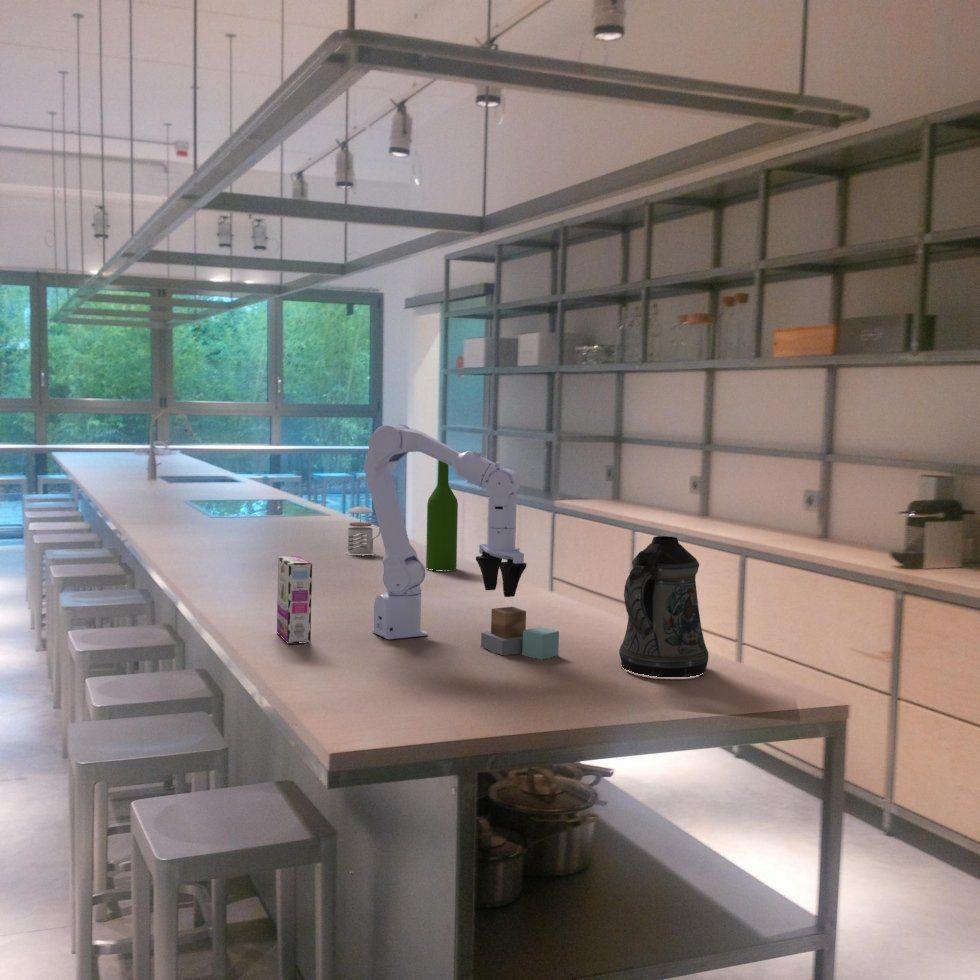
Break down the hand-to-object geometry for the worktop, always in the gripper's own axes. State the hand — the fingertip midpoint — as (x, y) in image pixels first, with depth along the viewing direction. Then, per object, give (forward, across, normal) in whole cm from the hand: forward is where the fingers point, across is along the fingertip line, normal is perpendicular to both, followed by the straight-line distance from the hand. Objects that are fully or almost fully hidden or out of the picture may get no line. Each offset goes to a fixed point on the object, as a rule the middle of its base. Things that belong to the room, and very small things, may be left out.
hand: (499, 593), depth 213 cm
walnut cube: (+7, -6, +1) cm, 9 cm away
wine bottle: (+11, +88, -33) cm, 94 cm away
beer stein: (+10, -32, -16) cm, 38 cm away
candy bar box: (+11, +21, +36) cm, 43 cm away
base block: (+10, -6, +1) cm, 12 cm away
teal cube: (+10, -13, -2) cm, 17 cm away
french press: (+11, +124, -23) cm, 126 cm away
